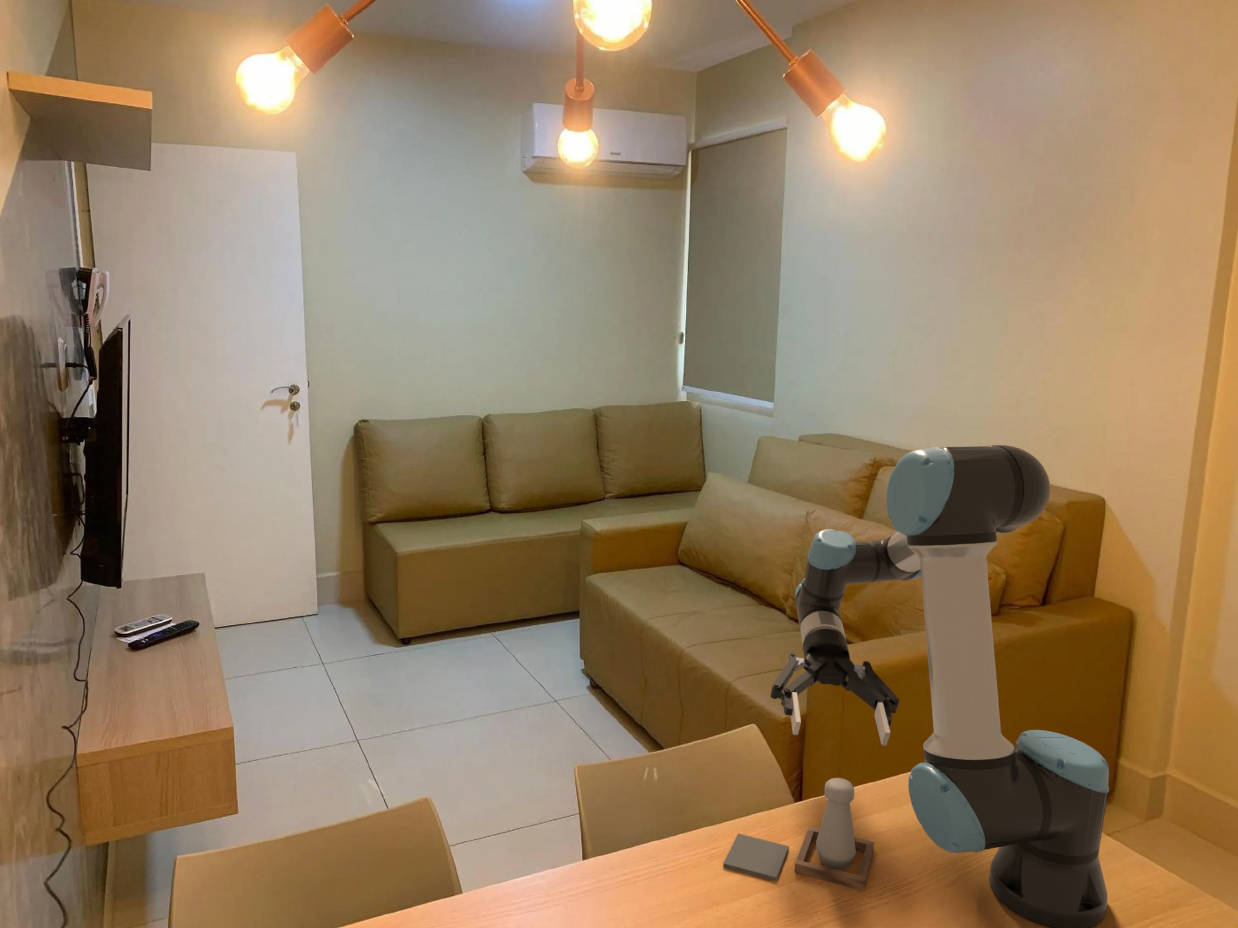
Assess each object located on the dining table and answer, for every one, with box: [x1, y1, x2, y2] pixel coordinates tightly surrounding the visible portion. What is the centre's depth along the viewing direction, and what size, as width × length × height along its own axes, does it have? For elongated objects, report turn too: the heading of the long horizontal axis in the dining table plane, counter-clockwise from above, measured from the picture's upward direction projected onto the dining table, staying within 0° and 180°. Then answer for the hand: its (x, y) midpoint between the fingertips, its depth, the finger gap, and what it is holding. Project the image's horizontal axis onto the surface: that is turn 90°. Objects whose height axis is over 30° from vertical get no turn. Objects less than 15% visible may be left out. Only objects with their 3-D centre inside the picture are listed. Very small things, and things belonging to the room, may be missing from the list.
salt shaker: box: [815, 777, 857, 871], centre depth 134 cm, size 6×6×13 cm
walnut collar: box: [794, 825, 875, 891], centre depth 136 cm, size 10×10×2 cm
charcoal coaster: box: [723, 833, 790, 882], centre depth 136 cm, size 8×8×1 cm
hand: (841, 733), depth 138 cm, fingers open, 13 cm apart
